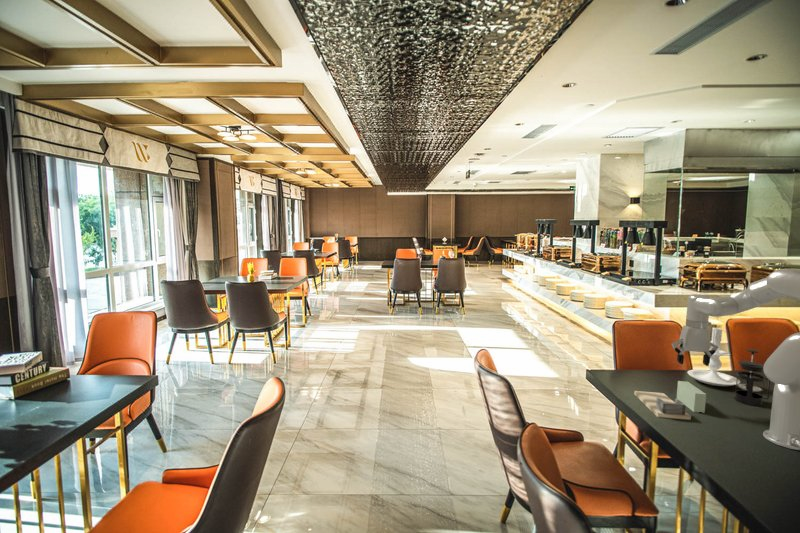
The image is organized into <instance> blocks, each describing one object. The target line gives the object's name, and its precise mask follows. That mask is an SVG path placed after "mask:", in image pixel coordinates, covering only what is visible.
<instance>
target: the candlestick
mask: <svg viewBox="0 0 800 533" xmlns="http://www.w3.org/2000/svg"><path fill="white" fill-rule="evenodd" d="M722 336H723V329H722V328H719V327H712V329H711V340H710V342H711V343H713V344H714V345H716V346H718V349H717V350H716V352H715V353H714V354H713V355H712V356H711V357H710V363H709V366H707V367H708V368H709V369H697V368H696V369H691V370H690V369H689V370H688V371H687V373H686V374H688V375H689V376H690V377H692V378H693V379H695V380H696V381H698V382H700V383H704V384H706V385H710V386H716V387H731V386H734V385H735V386H736V381H737V384H741V380H740V379H738V380H737V377H735V376H732V375H730V374H727V373H724V372H719V370H720V369H721V368H722V361H721V360H720V357H724V356H730V355H731V353H730V352H728V351H725V350H720V349H721V342H722ZM711 349H712V348H710V350H711ZM710 350H709V351H710Z"/></svg>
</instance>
